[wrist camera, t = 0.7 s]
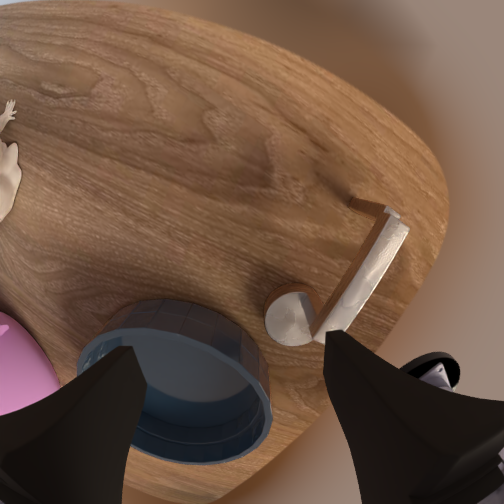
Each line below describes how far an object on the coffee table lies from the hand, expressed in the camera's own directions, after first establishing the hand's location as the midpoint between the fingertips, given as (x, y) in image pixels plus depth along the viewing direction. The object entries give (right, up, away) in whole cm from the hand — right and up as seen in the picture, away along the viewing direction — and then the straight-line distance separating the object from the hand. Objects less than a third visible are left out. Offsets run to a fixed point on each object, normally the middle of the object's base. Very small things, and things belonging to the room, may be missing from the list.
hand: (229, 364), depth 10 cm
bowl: (-5, -6, +11) cm, 13 cm away
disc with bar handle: (+5, +3, +8) cm, 10 cm away
